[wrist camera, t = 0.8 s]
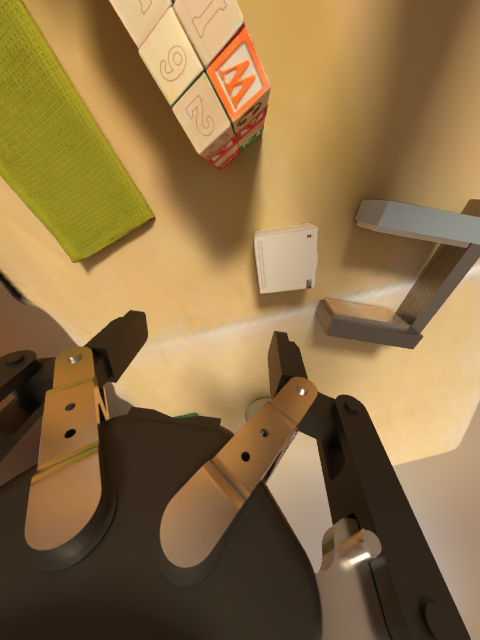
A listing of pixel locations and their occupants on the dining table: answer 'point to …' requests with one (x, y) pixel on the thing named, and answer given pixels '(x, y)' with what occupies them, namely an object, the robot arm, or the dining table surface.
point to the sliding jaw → (419, 222)
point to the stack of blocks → (202, 70)
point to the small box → (286, 257)
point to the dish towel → (58, 146)
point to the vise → (415, 308)
